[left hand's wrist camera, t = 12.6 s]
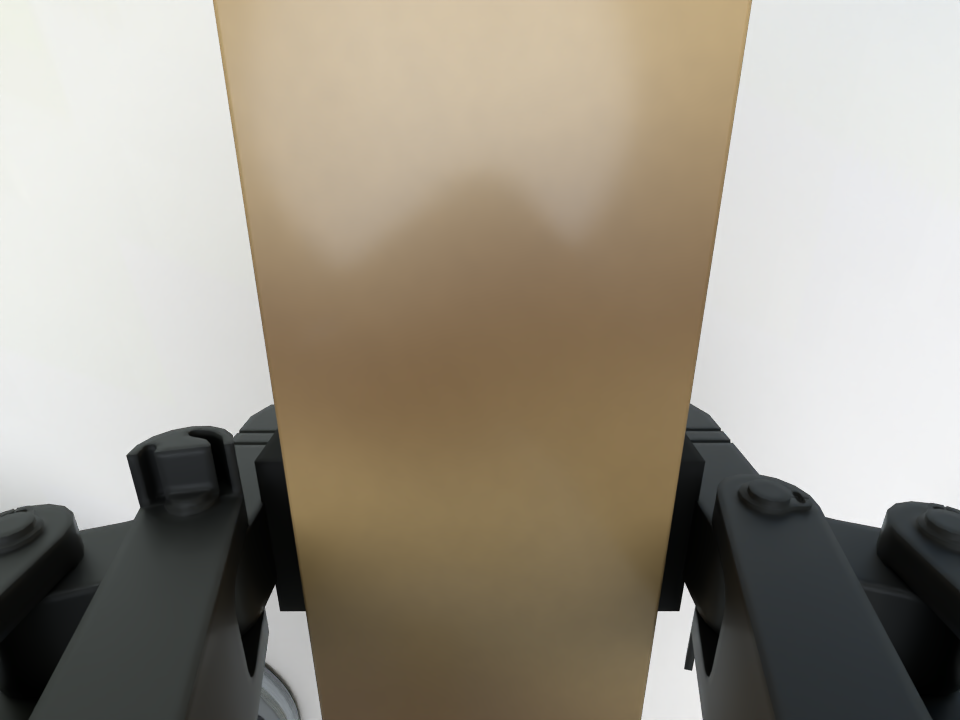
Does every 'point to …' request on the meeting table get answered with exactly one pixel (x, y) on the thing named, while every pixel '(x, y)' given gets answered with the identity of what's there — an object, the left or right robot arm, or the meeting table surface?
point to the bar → (482, 329)
